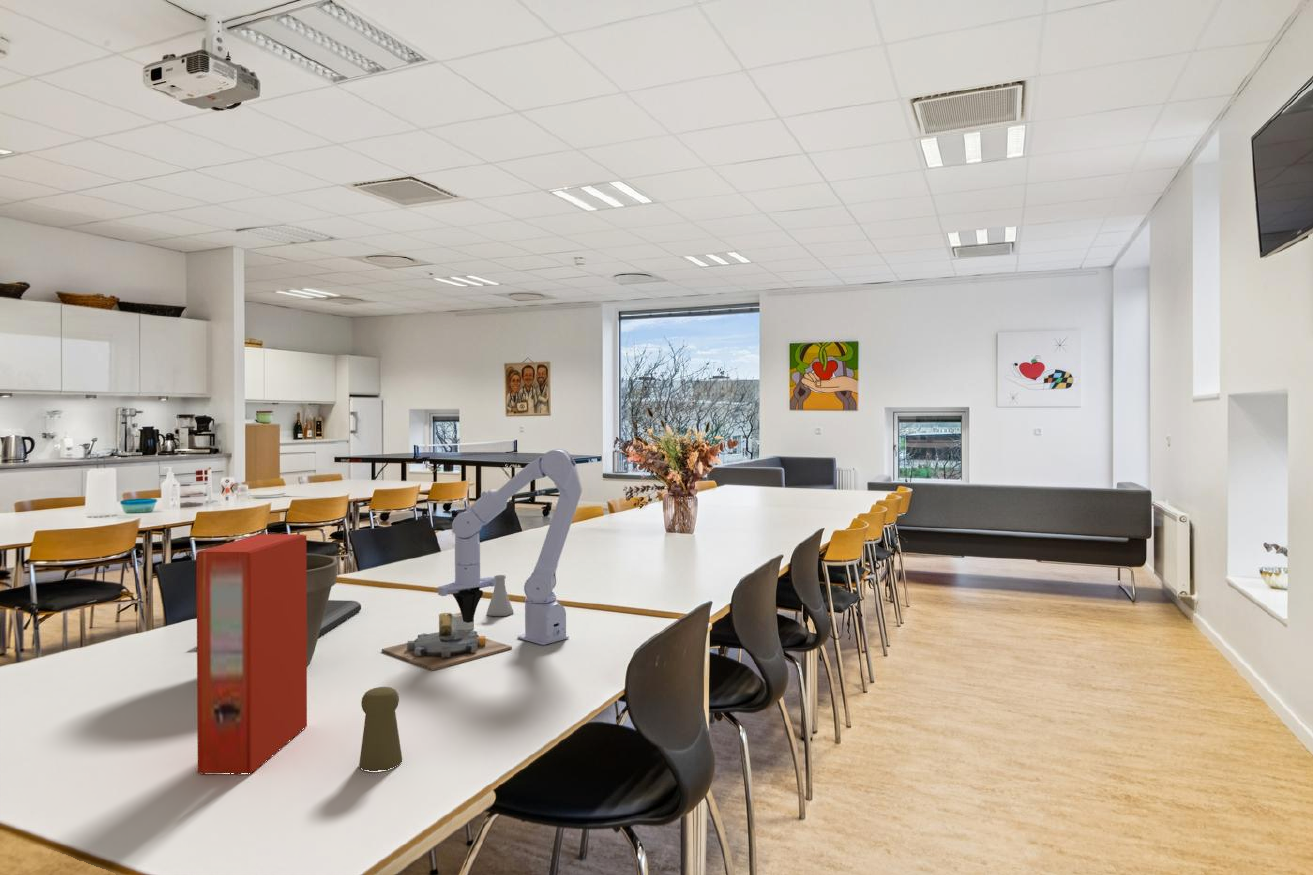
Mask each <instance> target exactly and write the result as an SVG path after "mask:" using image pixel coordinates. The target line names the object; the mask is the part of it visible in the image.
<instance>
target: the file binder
mask: <svg viewBox="0 0 1313 875" xmlns="http://www.w3.org/2000/svg"><path fill="white" fill-rule="evenodd" d="M306 554H307V534H302V533H301V534H291V533H289V534H288V533H287V534H283V533H280V534H279V533H278V534H277V533H276V534H275V533H269V534H268V533H265V534H264V533H259V534H256V535H252V536H249V537H245V538H242V539H237V540H236V541H231V542H227V543H224V544H220V545H216V546H212V547H209V548H206V549H203V550H199V551H197V552H196V684H197V685H196V689H197V690H196V691H197V692H196V694H197V695H196V698H197V700H196V701H197V703H196V704H197V707H196V710H197V712H196V713H197V714H196V716H197V717H196V718H197V719H196V721H197V722H196V723H197V725H196V726H197V735H196V736H197V738H196V739H197V774H201V773H203V774H202V775H206V774H205V773H230V774H231V773H234V774H241V773H248V774H249V773H250V774H251V773H252V772H253V771H254V770H256V769H257V768H258V767H259V766H260V765H261V766H263V765H264V764H265V763H266V762H267V761H268V760H267V759H269V758H270V757H271V756H272V755H273V754H274V753H276V752H277V751H278V750H279V749H280V748H281V749H283V748H284V747H285V746H286V745H287V744H288V743H289V742H288V741H289V740H291V739H292V738H293V737H294V736H296V735H297V734H298V733H299V732H300V731H301V730H302V729H303V728H305V727H306V728H307V726H308V684H307V683H308V672H307V671H308V670H307V669H308V668H307V667H308V666H307V562H306ZM306 728H305V729H306ZM301 732H302V731H301ZM301 732H300V733H301ZM300 733H299V734H300ZM299 734H298V735H299ZM298 735H297V736H298ZM297 736H296V737H297ZM294 738H295V737H294ZM294 738H293V739H294ZM293 739H292V740H293ZM292 740H291V741H292ZM287 742H288V743H287ZM286 743H287V744H286ZM285 744H286V745H285ZM284 745H285V746H284ZM283 746H284V747H283ZM282 747H283V748H282ZM281 749H280V750H281ZM280 750H279V751H280ZM279 751H278V752H279ZM278 752H277V753H278ZM277 753H276V754H277ZM274 755H275V754H274ZM274 755H273V756H274ZM273 756H272V757H273ZM272 757H271V758H272ZM271 758H270V759H271ZM270 759H269V760H270ZM266 760H267V761H266ZM265 761H266V762H265ZM264 762H265V763H264ZM263 763H264V764H263ZM262 764H263V765H262ZM261 766H260V767H261ZM260 767H259V768H260ZM259 768H258V769H259ZM258 769H257V770H258ZM257 770H256V771H257ZM254 772H255V771H254ZM254 772H253V773H254ZM253 773H252V774H253ZM252 774H251V775H252Z"/></svg>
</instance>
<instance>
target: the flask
mask: <svg viewBox="0 0 1313 875" xmlns="http://www.w3.org/2000/svg"><path fill="white" fill-rule="evenodd" d="M493 578H496V586H493V592H492V595H491V599H490V602H489V604H488V607H487V610H486V616H491V617H506V616H508V617H509V616H511V615H512V614H514V609H513V607H512V604H511V601H510V598H509V595H508V592H507V590H506V581H505V580H506V575H505V574H498V575H497V574H496V575H494V576H493Z"/></svg>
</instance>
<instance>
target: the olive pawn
mask: <svg viewBox="0 0 1313 875" xmlns="http://www.w3.org/2000/svg"><path fill="white" fill-rule="evenodd" d="M360 702H361V703H360V704H361V708H362V711H363V713H364V714H365V717H364V725H363V732H362V740H361V749H360V756H359V765H358V767H359V766H360V768H362V769H363V770H369V771H378V770H388V769H390V768H393V767H395V766H397V765H399V764H400V763H401V762H402V763H403V761H402V760H403V756H402V749H401V742H400V735H399V728H398V721H397V715H396V710H397V708H398V706H399V702H400V696H399V693H398V692H397V690H396V688H393V687H389V686H379V687H374V688H371V689H368V690H367V691H366V692H365V693H364V694H363V695H362V698H361V700H360ZM402 763H401V764H402ZM401 764H400V765H401ZM400 765H399V766H400ZM360 768H359V769H360Z"/></svg>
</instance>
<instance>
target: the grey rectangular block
mask: <svg viewBox="0 0 1313 875" xmlns="http://www.w3.org/2000/svg"><path fill="white" fill-rule="evenodd" d="M451 614H452V613H451ZM474 629H475V618H474V619H473V622H470V623H467V622H463V618H462V614H461V611H460V612H456V613H453V614H452V631H465V632H468V631H471V630H472V631H473V630H474Z"/></svg>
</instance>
